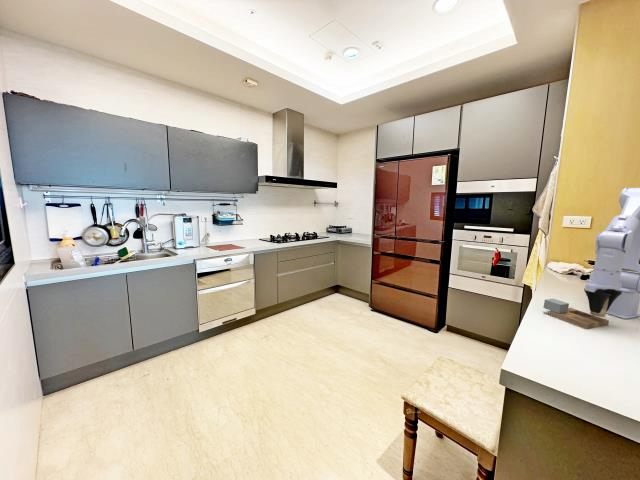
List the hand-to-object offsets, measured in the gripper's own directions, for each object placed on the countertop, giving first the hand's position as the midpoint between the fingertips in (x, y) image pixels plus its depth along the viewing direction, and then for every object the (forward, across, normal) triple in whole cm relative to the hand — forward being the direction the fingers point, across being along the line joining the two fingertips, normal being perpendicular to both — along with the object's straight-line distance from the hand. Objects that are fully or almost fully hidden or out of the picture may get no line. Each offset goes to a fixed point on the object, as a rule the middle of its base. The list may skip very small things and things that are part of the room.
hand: (598, 311), depth 81 cm
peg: (+1, 0, 0) cm, 1 cm away
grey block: (+2, +6, -8) cm, 10 cm away
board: (+4, +3, -3) cm, 6 cm away
